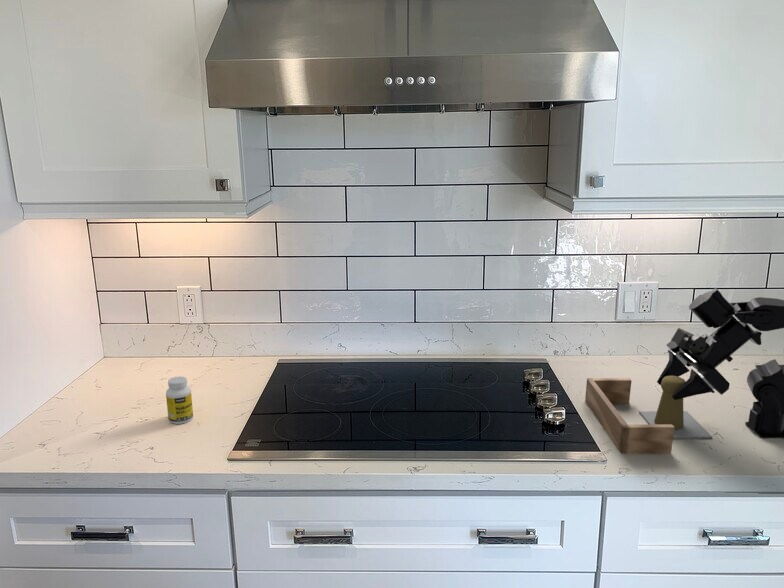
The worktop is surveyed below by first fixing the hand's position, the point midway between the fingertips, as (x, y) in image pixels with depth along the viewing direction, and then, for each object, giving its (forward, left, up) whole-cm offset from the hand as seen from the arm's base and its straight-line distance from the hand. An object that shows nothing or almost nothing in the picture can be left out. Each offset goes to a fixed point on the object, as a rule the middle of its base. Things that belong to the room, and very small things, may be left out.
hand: (665, 390), depth 137 cm
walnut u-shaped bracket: (+8, 0, -8) cm, 12 cm away
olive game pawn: (-2, 0, -8) cm, 8 cm away
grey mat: (-3, 0, -8) cm, 9 cm away
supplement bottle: (+108, -4, -9) cm, 109 cm away
